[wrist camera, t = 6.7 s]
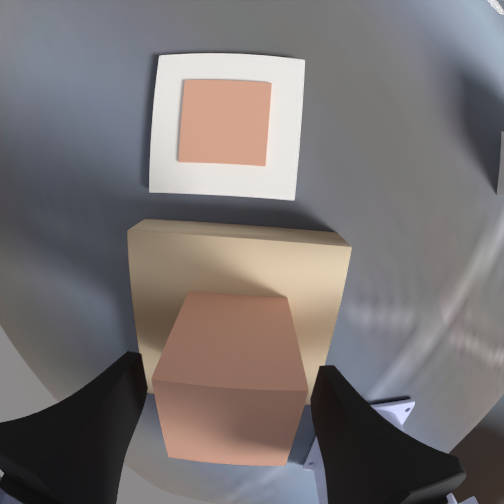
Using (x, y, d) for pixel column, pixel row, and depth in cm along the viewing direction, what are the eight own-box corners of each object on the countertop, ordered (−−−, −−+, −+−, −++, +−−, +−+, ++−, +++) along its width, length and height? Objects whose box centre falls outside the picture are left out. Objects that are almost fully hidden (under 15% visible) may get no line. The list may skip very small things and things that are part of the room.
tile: (292, 198, 14) (294, 201, 13) (152, 191, 14) (147, 193, 13) (303, 63, 12) (305, 58, 11) (162, 59, 12) (158, 54, 11)
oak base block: (305, 373, 19) (312, 404, 16) (158, 362, 18) (146, 392, 15) (334, 230, 15) (351, 247, 13) (148, 216, 15) (127, 230, 12)
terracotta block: (276, 371, 15) (285, 465, 9) (191, 365, 15) (168, 456, 9) (287, 297, 13) (308, 390, 8) (188, 290, 13) (151, 378, 7)
